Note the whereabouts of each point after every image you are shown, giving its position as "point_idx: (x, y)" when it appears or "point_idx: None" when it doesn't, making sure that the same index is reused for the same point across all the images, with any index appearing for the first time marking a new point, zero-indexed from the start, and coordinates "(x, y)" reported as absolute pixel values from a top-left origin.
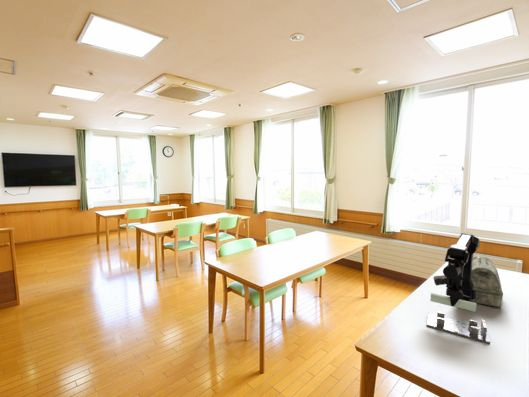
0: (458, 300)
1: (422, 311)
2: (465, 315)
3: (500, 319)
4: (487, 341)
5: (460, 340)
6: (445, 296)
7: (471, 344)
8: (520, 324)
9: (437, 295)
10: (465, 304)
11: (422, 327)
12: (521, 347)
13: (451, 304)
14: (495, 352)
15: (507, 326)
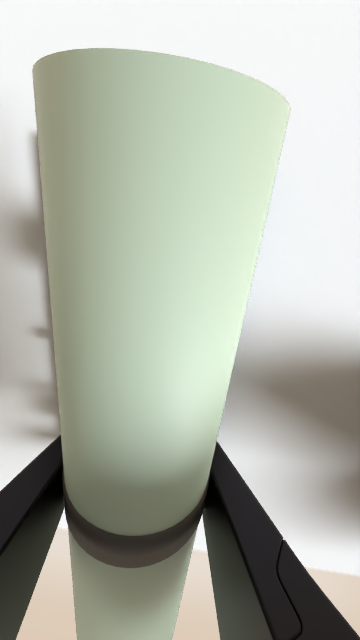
0: (94, 589)
1: (323, 114)
2: (346, 406)
3: (347, 521)
4: None
5: (10, 344)
6: (133, 460)
7: (8, 387)
8: (322, 562)
9: (92, 291)
10: (74, 601)
11: (7, 94)
12: None
13: (48, 452)
14: (11, 460)
15: (286, 529)
